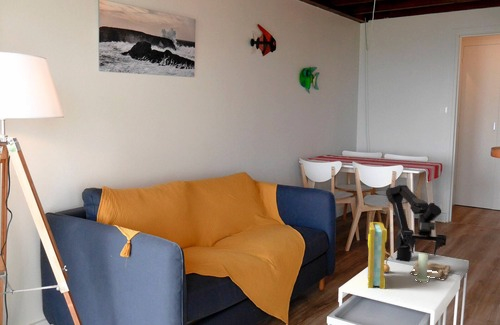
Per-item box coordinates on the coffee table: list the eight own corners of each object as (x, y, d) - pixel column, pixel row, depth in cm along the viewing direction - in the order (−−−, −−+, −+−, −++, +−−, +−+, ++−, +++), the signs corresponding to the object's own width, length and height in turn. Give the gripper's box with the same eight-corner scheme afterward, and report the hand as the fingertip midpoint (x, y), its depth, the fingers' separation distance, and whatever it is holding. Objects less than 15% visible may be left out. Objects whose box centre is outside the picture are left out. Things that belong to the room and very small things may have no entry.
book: (384, 289, 197) (386, 230, 195) (368, 287, 198) (370, 229, 196) (381, 276, 213) (383, 222, 211) (366, 275, 215) (368, 221, 213)
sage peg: (413, 280, 208) (414, 254, 207) (416, 277, 213) (417, 251, 212) (427, 283, 205) (429, 256, 204) (430, 279, 210) (431, 253, 209)
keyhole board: (409, 274, 217) (410, 269, 217) (417, 265, 232) (418, 260, 232) (444, 280, 209) (444, 275, 209) (450, 270, 224) (450, 265, 224)
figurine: (395, 273, 218) (396, 248, 217) (390, 276, 213) (391, 250, 213) (378, 269, 223) (379, 245, 222) (373, 272, 219) (374, 247, 218)
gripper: (404, 213, 219) (401, 242, 210) (447, 217, 212) (446, 246, 203) (404, 227, 227) (402, 255, 217) (445, 230, 220) (445, 259, 211)
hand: (423, 253), depth 212 cm, fingers open, 9 cm apart
